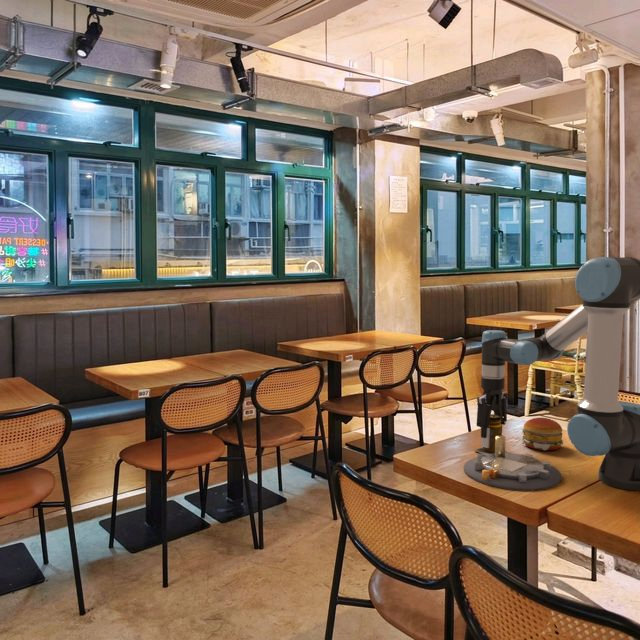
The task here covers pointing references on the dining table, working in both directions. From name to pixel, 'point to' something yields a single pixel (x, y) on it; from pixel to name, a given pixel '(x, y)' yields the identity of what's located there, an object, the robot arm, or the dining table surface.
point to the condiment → (492, 434)
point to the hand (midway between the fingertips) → (491, 444)
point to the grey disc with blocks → (511, 464)
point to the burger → (542, 434)
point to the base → (512, 484)
